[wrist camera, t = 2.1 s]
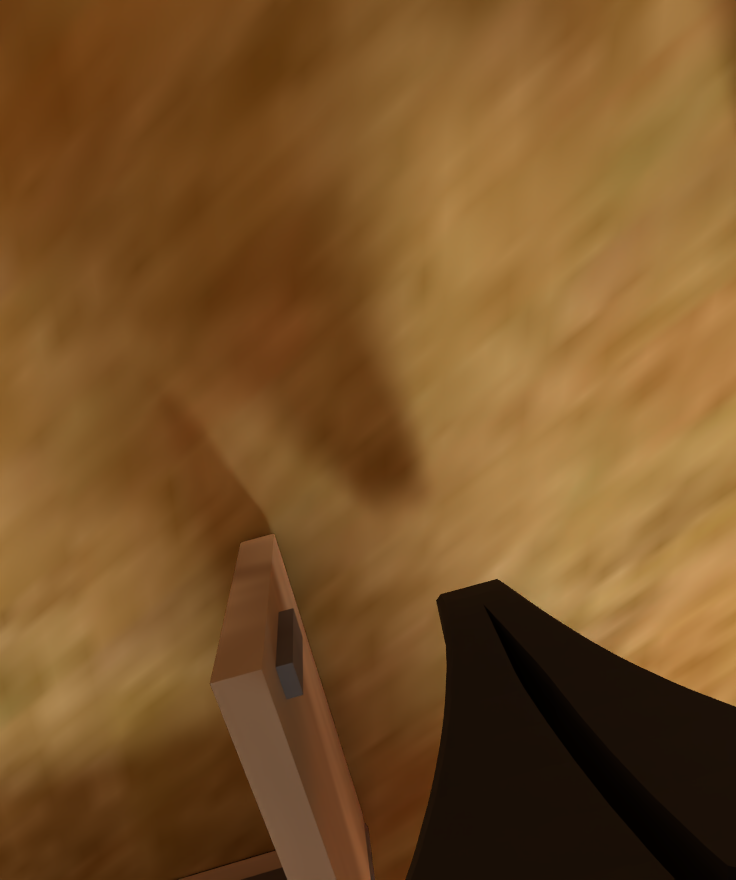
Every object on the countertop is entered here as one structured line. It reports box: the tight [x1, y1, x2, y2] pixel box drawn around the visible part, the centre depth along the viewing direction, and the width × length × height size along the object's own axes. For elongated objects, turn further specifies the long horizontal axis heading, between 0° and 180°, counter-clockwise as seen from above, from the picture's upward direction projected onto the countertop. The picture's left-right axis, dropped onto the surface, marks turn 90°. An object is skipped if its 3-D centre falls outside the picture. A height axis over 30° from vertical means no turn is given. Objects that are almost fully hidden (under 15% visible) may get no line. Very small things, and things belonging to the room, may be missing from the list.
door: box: [210, 534, 375, 880], centre depth 12 cm, size 1×10×5 cm, turn 12°
